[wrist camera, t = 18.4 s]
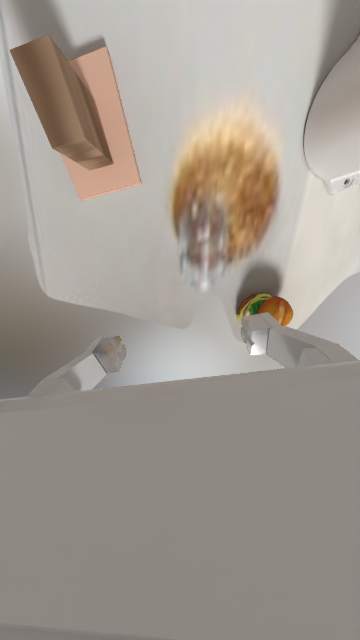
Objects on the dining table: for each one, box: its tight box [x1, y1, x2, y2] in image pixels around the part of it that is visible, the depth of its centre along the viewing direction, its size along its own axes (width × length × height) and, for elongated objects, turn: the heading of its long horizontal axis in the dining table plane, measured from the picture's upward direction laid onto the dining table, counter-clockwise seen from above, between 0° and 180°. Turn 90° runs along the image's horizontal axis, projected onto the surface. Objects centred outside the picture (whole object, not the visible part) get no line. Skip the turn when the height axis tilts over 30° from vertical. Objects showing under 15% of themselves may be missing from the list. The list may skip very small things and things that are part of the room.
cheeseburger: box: [237, 294, 293, 327], centre depth 38 cm, size 10×11×10 cm
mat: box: [61, 47, 141, 200], centre depth 25 cm, size 12×14×1 cm
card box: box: [10, 34, 114, 170], centre depth 21 cm, size 4×7×9 cm, turn 11°
